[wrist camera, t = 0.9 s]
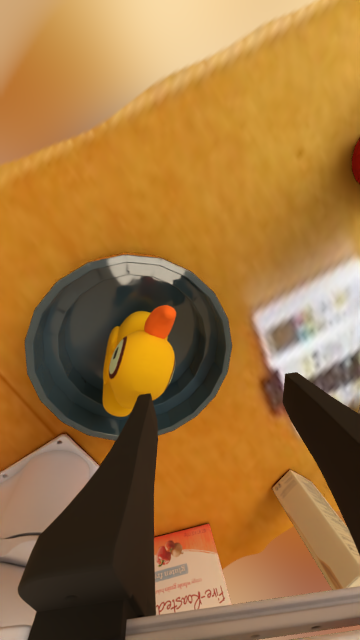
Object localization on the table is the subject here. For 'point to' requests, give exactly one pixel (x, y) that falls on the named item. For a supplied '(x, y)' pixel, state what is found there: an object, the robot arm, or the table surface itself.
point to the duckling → (138, 359)
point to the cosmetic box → (320, 530)
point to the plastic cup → (356, 162)
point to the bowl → (110, 311)
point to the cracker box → (188, 572)
